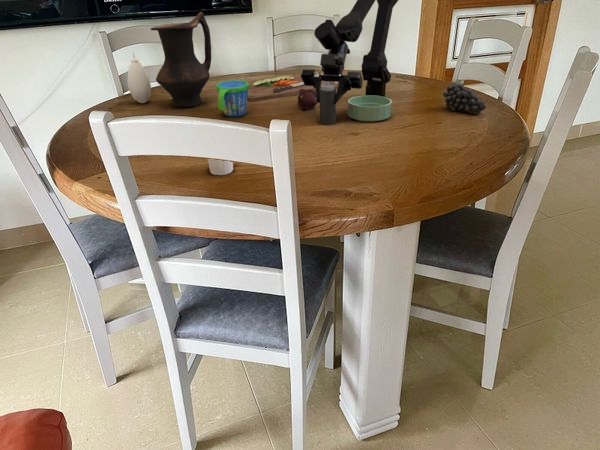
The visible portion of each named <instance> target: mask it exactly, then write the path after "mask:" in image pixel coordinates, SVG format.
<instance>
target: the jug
mask: <svg viewBox="0 0 600 450" xmlns="http://www.w3.org/2000/svg"><path fill="white" fill-rule="evenodd" d="M199 24H200V25H201V28H202V31H203V39H204V62H202V63H201V62H200V60H198V58H197V56H196V54H195V47H194V40H193V37H194V35H193V33H194V29H195V28H197V27H198V26H199ZM150 31H157V32H158V36H159V39H160V42H161V46H162V50H163V54H164V61H163V64H162V65H161V67H160V69H159V71H158V73H157V75H156V78H155V81H156V83H157V84H158V85H160V86H161V87H162V88H163V90H165V91H166V92H167V93H168V94H169V95H170V97H171V98H172V99H171V106H172V107H177V108H183V107H186V108H187V107H195V106H199V105H201V104H203V99H202V97H201V93H202V91H203V89H204V88H205V86H206V84H207V83H208V81H209V79H210V76H211V74H210V69H211V65H212V40H211V39H212V38H211V31H210V26H209V24H208V22H207V20H206V18H205V14H204V13H203V12H202V11H200V12H199V13H197V15H196V16H195V17H194V18H193V19H191V20H190V21H189V22H177V23H176V22H175V23H166V24H160V25H157V26H152V27H150Z"/></svg>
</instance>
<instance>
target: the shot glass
mask: <svg viewBox="0 0 600 450" xmlns="http://www.w3.org/2000/svg"><path fill="white" fill-rule="evenodd" d="M207 163H208V164H207V165H208V168H209V173H210V174H212V175H215V176H225V175H228V174H231V173H232V172H233V171H234V161H233V162H230V161H222V160H215V159H207Z"/></svg>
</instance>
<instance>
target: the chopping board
mask: <svg viewBox="0 0 600 450" xmlns="http://www.w3.org/2000/svg"><path fill="white" fill-rule="evenodd" d="M245 81H246V82H248V83H249V88H248V94H249V97H248V98H247V102H258V101H266V100H270V99H278V98H283V97H291V96H297V95H298V96H299V90H300V89H305V90H309V89H310V90H312V91H314V92H315V93H316V88H314V87H313V86H306V85H304V82H303V80H302V78H301V73H295V74H287V75H281V76H272V77H265V78H258V79H257V78H256V79H249V80H245ZM326 82H329V83H330V84H334V85H335V89H336V90H337V89H338V85H339V82H330V81H322V82H321V84H326Z"/></svg>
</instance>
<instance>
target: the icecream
mask: <svg viewBox="0 0 600 450" xmlns="http://www.w3.org/2000/svg"><path fill="white" fill-rule="evenodd" d="M296 103H297V105H299V107H300V108H301V109H303V110H305V111H310V110H313V109H315V107H316V106H317V105H318V104H319V103H318V102H317V95H316V92H314V91H312V90H310V89H309V90H305V89H300V90H299V94H298V96H297V101H296Z"/></svg>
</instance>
